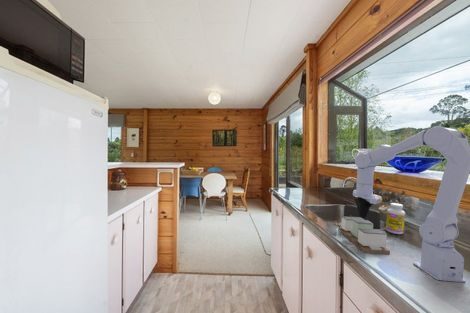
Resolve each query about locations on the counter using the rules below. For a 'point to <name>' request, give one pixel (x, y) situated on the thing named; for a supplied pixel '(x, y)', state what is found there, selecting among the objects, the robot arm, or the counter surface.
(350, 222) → the mounted modules
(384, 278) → the counter surface
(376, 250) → the rail board
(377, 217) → the leaning round-cornered charcoal block
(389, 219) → the supplement bottle
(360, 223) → the block
